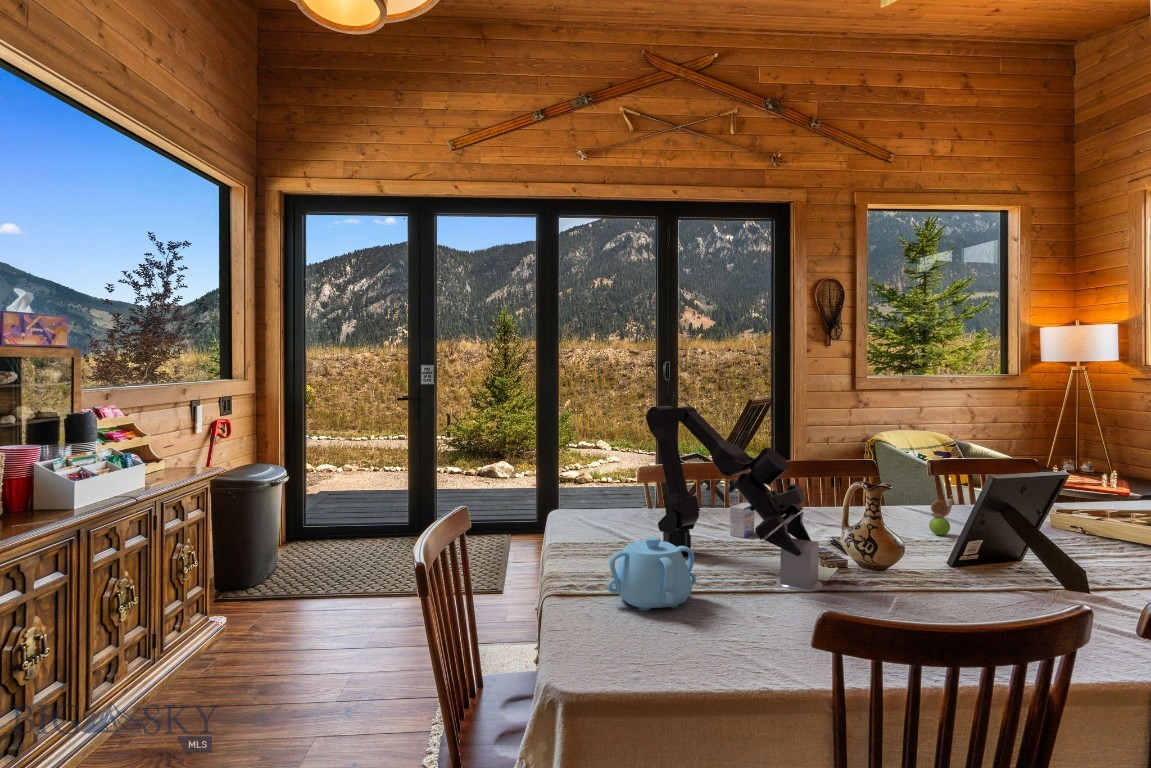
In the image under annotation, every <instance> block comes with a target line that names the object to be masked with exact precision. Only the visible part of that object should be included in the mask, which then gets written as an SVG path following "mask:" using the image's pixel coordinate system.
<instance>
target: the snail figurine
mask: <svg viewBox="0 0 1151 768" xmlns="http://www.w3.org/2000/svg"><path fill="white" fill-rule="evenodd" d="M950 497H951V498H948V499H947V503H946V502H945V501H944V500H941V499H938V500H937V499H936V500H934V501H932V503H931V505H930V510H931V513H930V514H931V515H932V516H933V518H932V519H930V521H929V523H928V527H929V530H930V531H931V532H932V533H933V534H934V535H937V536H945V535H947V534H948V533H949V532H950V531H951V524H950V521H949V520H948V519H947V518H945V517H947V516H949V514H950V513H951V511H952V507H953V503H954V500H953V499H954V497H955V496H954V495H953V494H950Z"/></svg>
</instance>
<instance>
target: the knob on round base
mask: <svg viewBox="0 0 1151 768" xmlns="http://www.w3.org/2000/svg"><path fill="white" fill-rule="evenodd" d="M775 582H776V584H777V585H778V586H780V587H782V588H784V589H787V590H790V591H795V592H796V591H797V592H809V593H810V592H817V591H821V590H822V589H823V583H822V582H821V581H819V580H818V582H817V583H816V584H815V585H814V586H813V587H812V588H811V589H810V590H809V589H804V588H799V587H794V586H790V585H785V584H780V576H779V577H777V578H776V580H775Z"/></svg>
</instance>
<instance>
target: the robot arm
mask: <svg viewBox="0 0 1151 768" xmlns="http://www.w3.org/2000/svg"><path fill="white" fill-rule="evenodd" d="M645 420H646V423H647V425H648V426H647V427H648V429H649V433H650V434H652V436H653V437H654V438H655V439H656V441H657V445H658V450H659V454H660V459H661V464H662V469H663V474H664V479H665V484H666V488H667V493H668V495H667V498H666V501H665V506H664V508H665V509H664V510H665V515H664V516H663V517H662V518H661V519H659V521H658V522H657V527H658V530H659V532H662V537H663V538H662V539H663V540H662V541H664V542H668V543H671V544H673V545H674V546H676V547H678V546H686V547H688V548H690V549H691V550H692V546H691V545H692V536H691V534H690V533H691V531H690V530H693V529H694V527H695V525H696V523H697V521H698V519H699V518H700V512H701V509H700V507H699V504H698V503H699V502H698V497H697V495H691V493H690V492H689V491H688V488H687V484H686V479H685V476H684V470H683V466H682V465H683V464H682V461H681V457H680V451H679V447H678V442H677V434H678V430H679V423H681V424H682V425H683V426H684V427H685V428H686V429H687V430H688V431H689V432H690V433H691V434H692V435H693V436H694V437H695V439H697V441H699V442H700V444H702V445H703V447H704V448H705V449H706V450H707V451H708V453H710V455H711V459H712V463H713V465H714V466H715V467H716V469H717V470H718V471H719V472H720V474H721V475H722V476H724V477H732V476H736V475H739V476H738V477H737V478H736V479H735V478H733V479H730V480H729V481H728V493H730V494H731V493H733V492H735V491H738V492H739V494H740V495H741V496H742V497H743V499H745V500H746V503H749V504H750V505H751V507H750V508H749V509H750V510H751V511H752V512H753V511H754V512H756V513H757V515H758V516H759V517H760V518H761V520H762V521H761V522H760V523H759V524H758V525H757V526H756V527H754V534H755V536H756V537H757V538H758V540H760V541H762V540H763V541H764V542H765V543H767V542H768V543H769V544H771V545H773V546H776V547H778V548H780V549H781V548H782V549H784V550H786V551H788V552H790V553H792V554H794V555H796V556H800V555H801V551H800V550H799V548H798V547H797V545H796V544H795V542H794V541H793V539H792V538H793V537H794V539H801V540H807V541H812V539H811V537H810V535H809V533H808V531H807V530H806V527H805V525H804V523H803V516H804V511H803V510H804V508H803V506H802V505H801V503H803V502H804V501H806V497H805V495H804V494H805V490H804V489H802V487H801V486H798V485H797V484H796V483H793V484H790V485H788V486H787V488H786V489H787V490H786V491H783V492H781V493H778V492H777V490H775V489H773V490H770V489H769V487H768V486H767V485H771V484H773V483H774V482H775V481H777V479H778V478H779V477H780V476H782V475H783V474H784V473H785V472H786V471H787V470H788V469H789V465H788V464H789V463H788V462H787V460H786V458H785V457H784V456H782V455H781V454H779V453H778V452H776V451H774V450H773V449H772V448H771V447H770V446H769V447H764V448H763V449H762V450H761V451H760V452H759V454H758V455H757V456H755V457H752V456H749V454H748V453H747V452H746V451H745V450H744V449H742V448H740V447H739V446H737V445H735V444H733V443H731V442H729V441H727V440H726V439H725V438H723V437H722V436H721V434H719V433H718V431H717V430H715V428H713V426H711V424H710V423H709V422H708V421H707V420H706V419H705V418H704V417H703V416H702V415H700V413H699V412H698V410H697V409H696V407H695V406H691V405H687V406H679V407H676V408H675V407H673V406H671V405H663V406H652V407H649V409H647V413H646V415H645ZM749 470H750V471H749ZM748 471H749V472H748ZM747 472H748V473H747ZM791 536H792V537H791ZM681 553H682V555H683V557H686V556H687V557H688V556H689V554H688V552H686V551H681Z"/></svg>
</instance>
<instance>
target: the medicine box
mask: <svg viewBox="0 0 1151 768" xmlns="http://www.w3.org/2000/svg"><path fill="white" fill-rule="evenodd" d="M750 507H751V505H750V504H749V503H748V502H739V503H737V504H734V505H733V506H731V507H730V508H729V525H730V526H729V536H731V537H737V538H742V539H744V538H747V537H749V536H750V535H752V534H755V510H754V511H753V512H752V511H751V510H750V509H749V508H750Z"/></svg>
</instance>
